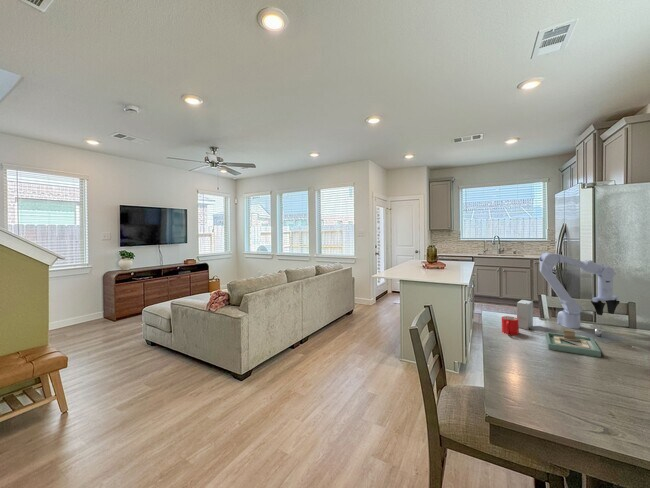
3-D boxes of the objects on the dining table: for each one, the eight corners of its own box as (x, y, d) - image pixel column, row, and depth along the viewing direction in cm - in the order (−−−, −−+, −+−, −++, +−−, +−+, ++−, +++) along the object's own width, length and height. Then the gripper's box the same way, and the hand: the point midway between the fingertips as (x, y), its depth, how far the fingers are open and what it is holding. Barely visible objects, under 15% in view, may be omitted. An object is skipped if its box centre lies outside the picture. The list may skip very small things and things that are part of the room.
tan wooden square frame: (590, 351, 129) (590, 340, 129) (556, 346, 136) (555, 335, 136) (585, 341, 139) (584, 331, 139) (553, 337, 146) (553, 327, 146)
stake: (589, 334, 147) (589, 325, 147) (593, 333, 147) (593, 325, 147) (603, 338, 141) (603, 329, 141) (607, 338, 141) (607, 329, 141)
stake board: (572, 335, 150) (572, 332, 150) (596, 332, 153) (596, 329, 153) (605, 346, 136) (605, 343, 136) (630, 342, 138) (630, 339, 138)
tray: (548, 349, 135) (548, 343, 135) (545, 336, 150) (545, 332, 150) (600, 357, 125) (600, 351, 125) (592, 343, 140) (592, 337, 140)
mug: (499, 335, 154) (499, 320, 154) (503, 329, 164) (502, 315, 163) (516, 338, 149) (516, 323, 149) (519, 331, 159) (519, 317, 158)
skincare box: (521, 324, 170) (521, 299, 170) (533, 326, 166) (533, 300, 165) (516, 327, 165) (516, 301, 165) (528, 330, 160) (528, 303, 160)
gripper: (602, 291, 148) (602, 317, 148) (625, 289, 150) (625, 314, 151) (587, 288, 154) (588, 313, 155) (609, 286, 157) (609, 311, 158)
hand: (605, 314), depth 153 cm, fingers open, 7 cm apart
